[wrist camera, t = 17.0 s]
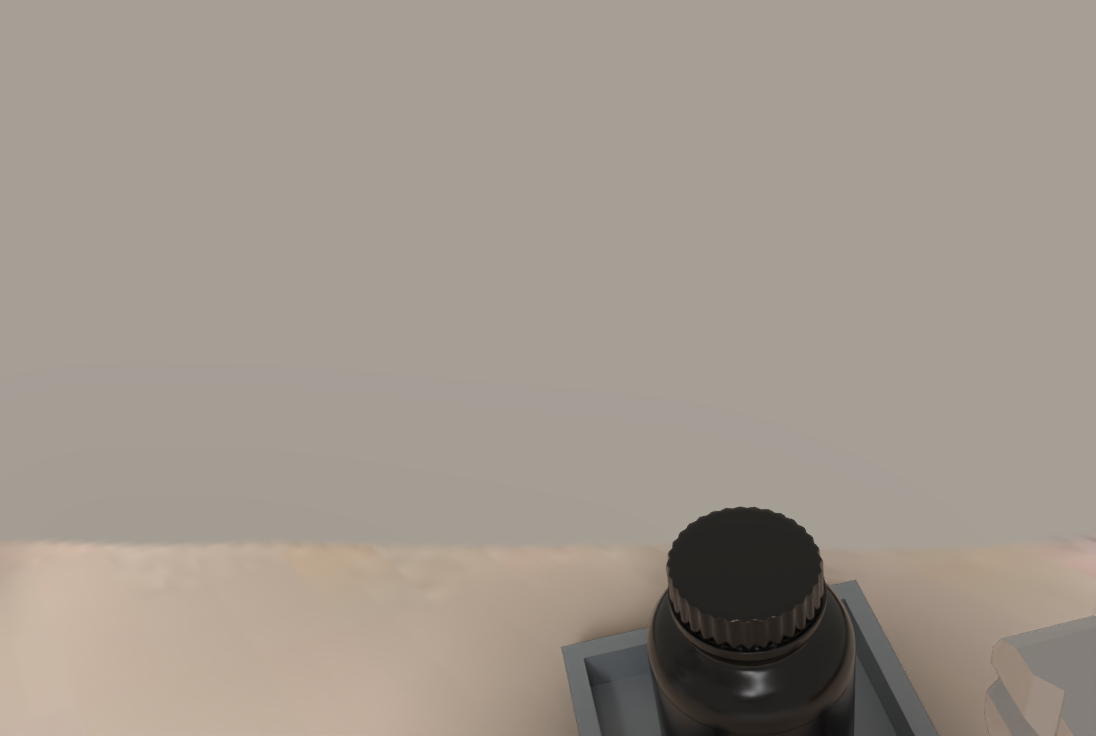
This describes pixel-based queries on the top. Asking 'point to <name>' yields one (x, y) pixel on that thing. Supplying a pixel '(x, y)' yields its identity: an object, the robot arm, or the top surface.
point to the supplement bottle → (750, 633)
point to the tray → (629, 703)
